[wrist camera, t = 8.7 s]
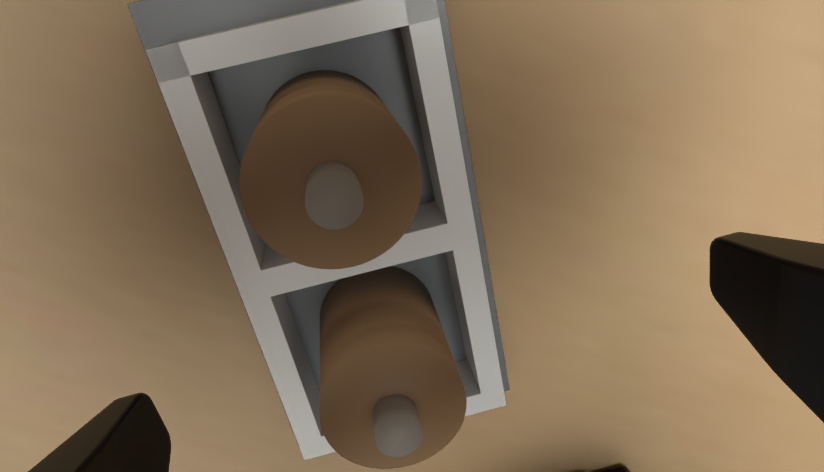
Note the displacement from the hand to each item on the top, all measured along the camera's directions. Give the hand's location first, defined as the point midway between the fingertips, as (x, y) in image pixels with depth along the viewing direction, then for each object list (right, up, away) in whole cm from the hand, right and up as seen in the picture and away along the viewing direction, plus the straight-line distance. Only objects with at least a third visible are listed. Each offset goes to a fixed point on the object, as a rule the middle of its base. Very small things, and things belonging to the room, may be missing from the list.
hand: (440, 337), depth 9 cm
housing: (-2, +2, +11) cm, 11 cm away
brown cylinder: (-3, +5, +8) cm, 10 cm away
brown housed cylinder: (-2, -1, +11) cm, 11 cm away
